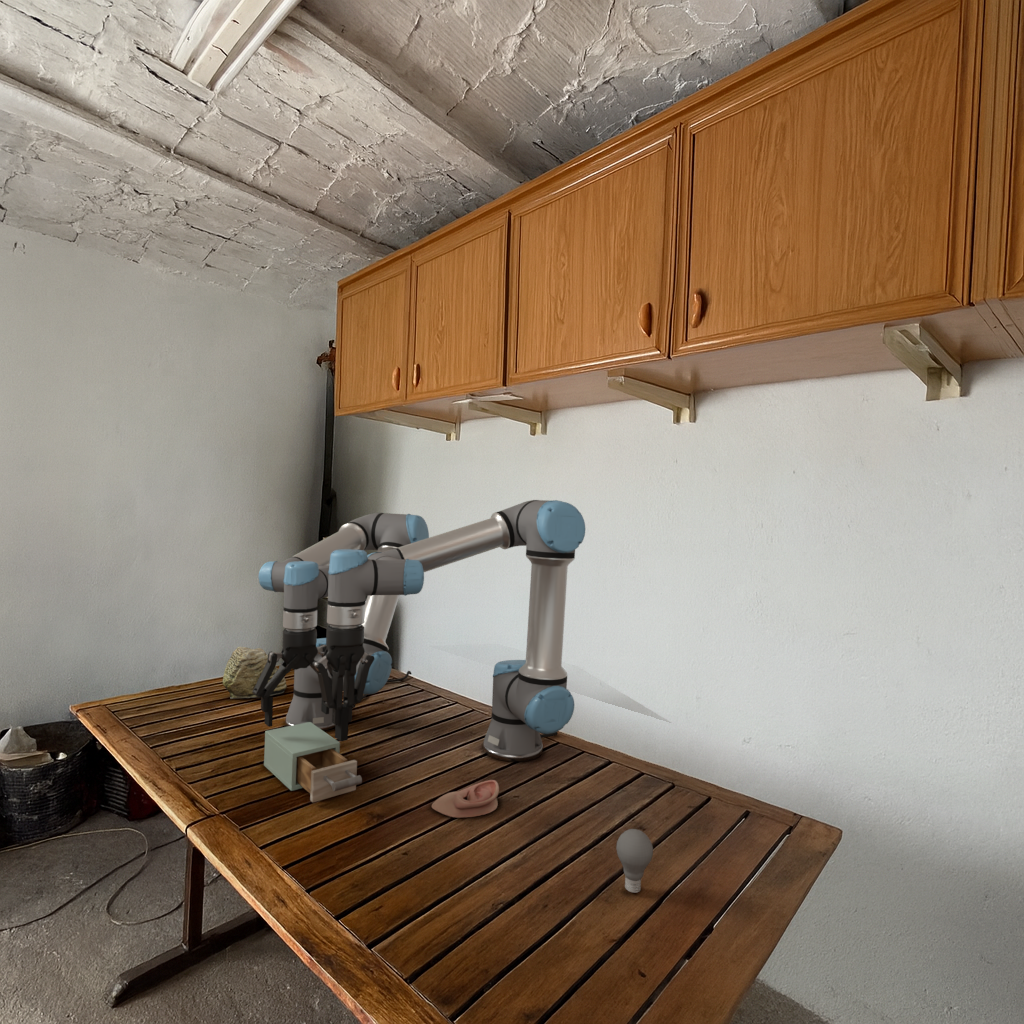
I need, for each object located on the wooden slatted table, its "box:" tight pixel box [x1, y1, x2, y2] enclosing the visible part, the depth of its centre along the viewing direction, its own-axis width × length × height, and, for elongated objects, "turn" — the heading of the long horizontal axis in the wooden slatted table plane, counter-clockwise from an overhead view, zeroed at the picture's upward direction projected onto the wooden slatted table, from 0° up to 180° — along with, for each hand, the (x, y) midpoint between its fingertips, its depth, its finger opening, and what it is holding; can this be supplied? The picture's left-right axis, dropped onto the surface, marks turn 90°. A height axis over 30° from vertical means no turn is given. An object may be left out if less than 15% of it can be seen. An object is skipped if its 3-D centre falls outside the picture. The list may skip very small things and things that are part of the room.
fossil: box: [222, 646, 288, 699], centre depth 198 cm, size 9×18×15 cm, turn 132°
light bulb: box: [615, 828, 654, 894], centre depth 106 cm, size 6×6×10 cm
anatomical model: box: [431, 779, 500, 819], centre depth 132 cm, size 13×4×12 cm
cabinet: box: [263, 722, 341, 792], centre depth 145 cm, size 16×11×8 cm
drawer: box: [296, 749, 363, 803], centre depth 136 cm, size 21×10×6 cm, turn 42°
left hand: (297, 718), depth 148 cm, fingers open, 13 cm apart
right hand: (341, 738), depth 131 cm, fingers closed
